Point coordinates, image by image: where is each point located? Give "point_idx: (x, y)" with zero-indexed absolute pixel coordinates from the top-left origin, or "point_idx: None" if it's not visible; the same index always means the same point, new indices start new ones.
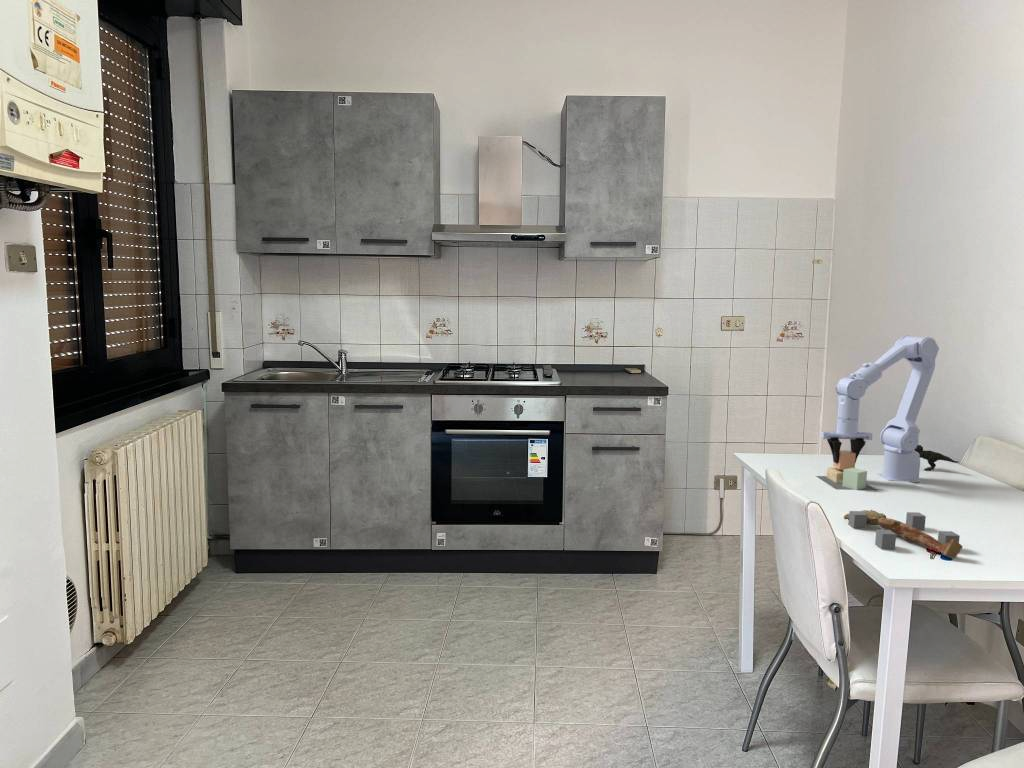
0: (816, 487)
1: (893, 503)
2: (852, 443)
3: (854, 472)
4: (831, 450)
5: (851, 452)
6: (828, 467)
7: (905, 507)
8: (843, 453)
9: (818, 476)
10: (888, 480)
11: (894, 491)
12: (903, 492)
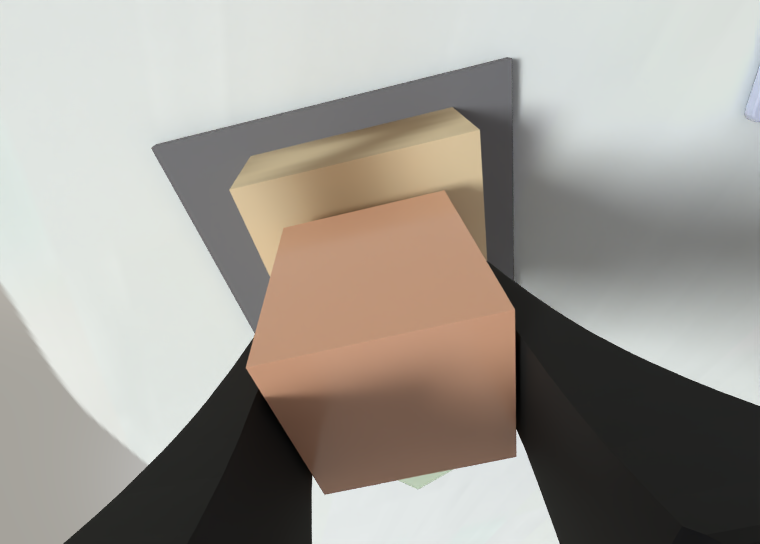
0: (201, 389)
1: (495, 474)
2: (597, 510)
3: (401, 479)
4: (200, 417)
5: (481, 431)
6: (241, 191)
7: (515, 493)
8: (359, 483)
9: (180, 162)
10: (749, 114)
11: (605, 336)
12: (642, 339)
